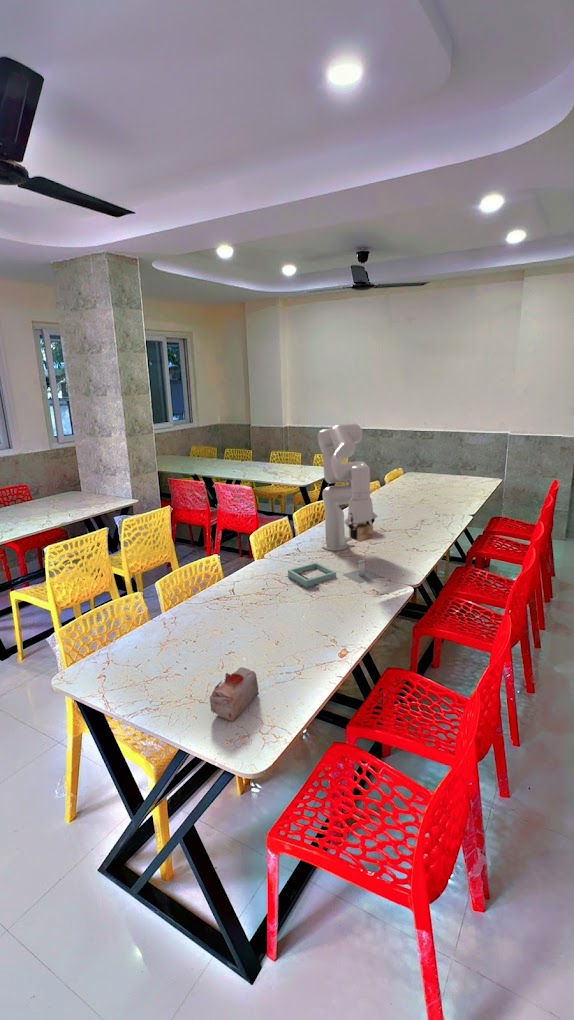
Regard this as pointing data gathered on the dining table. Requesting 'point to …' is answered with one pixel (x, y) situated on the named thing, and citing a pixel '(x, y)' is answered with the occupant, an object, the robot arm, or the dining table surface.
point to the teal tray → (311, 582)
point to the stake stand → (361, 574)
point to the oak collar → (363, 532)
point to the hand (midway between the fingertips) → (361, 536)
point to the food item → (234, 693)
